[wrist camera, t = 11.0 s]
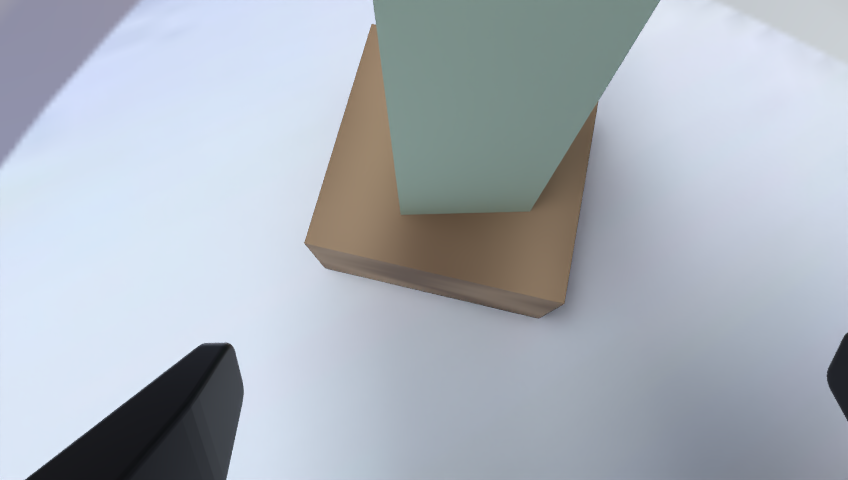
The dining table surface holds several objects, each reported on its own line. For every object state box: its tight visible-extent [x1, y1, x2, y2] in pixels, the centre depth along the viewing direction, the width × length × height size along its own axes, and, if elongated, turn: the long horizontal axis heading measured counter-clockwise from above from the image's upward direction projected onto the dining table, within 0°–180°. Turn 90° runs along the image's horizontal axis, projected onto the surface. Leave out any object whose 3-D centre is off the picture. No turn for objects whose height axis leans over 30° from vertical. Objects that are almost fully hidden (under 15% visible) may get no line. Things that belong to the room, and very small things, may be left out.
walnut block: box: [304, 24, 598, 318], centre depth 21 cm, size 9×9×4 cm
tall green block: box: [373, 0, 660, 215], centre depth 13 cm, size 4×4×12 cm
